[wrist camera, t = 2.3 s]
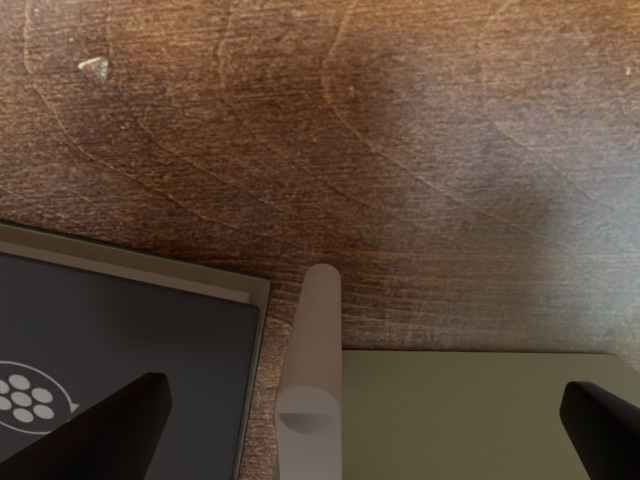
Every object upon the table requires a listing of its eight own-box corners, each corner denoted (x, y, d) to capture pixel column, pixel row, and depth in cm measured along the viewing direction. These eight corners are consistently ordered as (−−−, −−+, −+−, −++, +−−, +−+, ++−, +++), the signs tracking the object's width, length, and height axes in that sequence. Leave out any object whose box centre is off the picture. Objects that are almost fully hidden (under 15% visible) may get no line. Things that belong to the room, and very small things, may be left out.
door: (291, 253, 15) (201, 480, 5) (648, 251, 14) (1354, 529, 4) (297, 365, 17) (241, 678, 7) (610, 370, 16) (1031, 743, 6)
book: (-103, 415, 20) (-175, 462, 17) (-173, 182, 15) (-289, 194, 13) (237, 485, 20) (221, 542, 18) (273, 277, 16) (258, 309, 13)
